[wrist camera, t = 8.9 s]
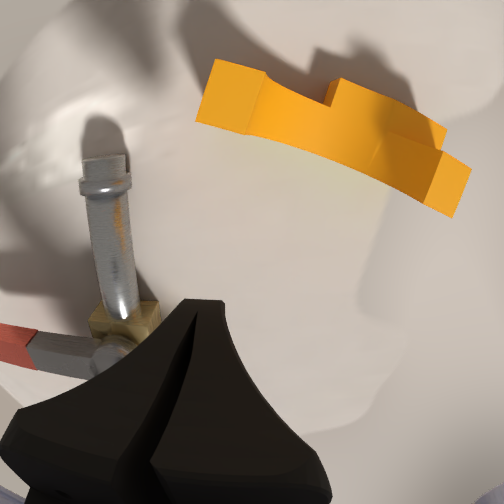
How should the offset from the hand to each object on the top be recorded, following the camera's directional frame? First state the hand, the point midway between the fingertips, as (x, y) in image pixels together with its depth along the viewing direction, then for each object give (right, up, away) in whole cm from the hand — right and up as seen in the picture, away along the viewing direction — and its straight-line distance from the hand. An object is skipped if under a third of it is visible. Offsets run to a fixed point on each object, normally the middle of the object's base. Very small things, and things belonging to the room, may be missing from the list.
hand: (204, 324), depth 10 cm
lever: (-12, -4, +9) cm, 16 cm away
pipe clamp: (+6, +10, +7) cm, 14 cm away
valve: (-7, 0, +11) cm, 13 cm away
